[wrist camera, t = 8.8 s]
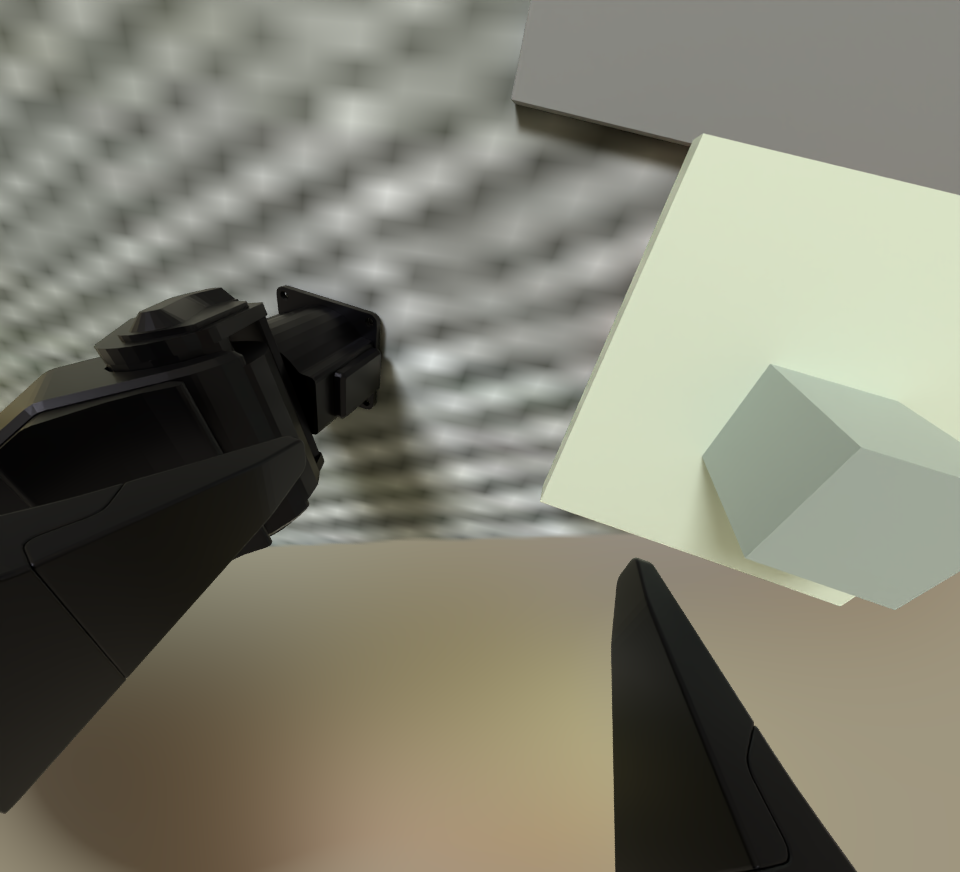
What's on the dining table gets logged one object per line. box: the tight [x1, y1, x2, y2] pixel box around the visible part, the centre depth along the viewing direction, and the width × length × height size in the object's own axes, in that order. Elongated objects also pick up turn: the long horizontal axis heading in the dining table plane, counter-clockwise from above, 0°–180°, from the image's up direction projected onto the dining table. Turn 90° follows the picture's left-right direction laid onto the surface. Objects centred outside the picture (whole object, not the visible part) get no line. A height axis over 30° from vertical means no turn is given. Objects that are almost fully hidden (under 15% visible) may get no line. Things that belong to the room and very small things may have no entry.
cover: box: [540, 133, 960, 610], centre depth 11 cm, size 14×14×6 cm
